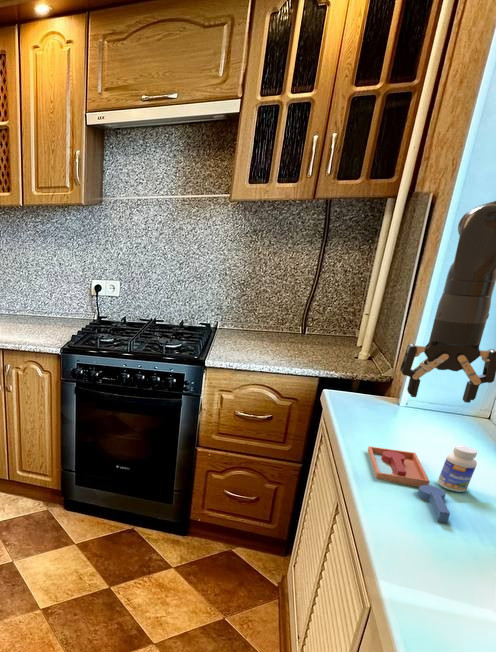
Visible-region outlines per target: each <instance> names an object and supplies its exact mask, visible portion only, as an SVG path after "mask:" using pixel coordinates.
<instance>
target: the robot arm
mask: <svg viewBox="0 0 496 652" xmlns="http://www.w3.org/2000/svg"><path fill="white" fill-rule="evenodd" d="M457 232H458V235H459V237H458V242H457V246H456V252H455V256H454V259H453V262H452V263H451V265H450V266H449V270H448V272H447V275H446V279H445V283H444V287H443V292H442V294H441V297H440V299H439V302H438V303H437V304H438V305H437V308H436V312H435V315H434V320H433V323H432V328H431V333H430V335H429V340H428V343H427V344H426V345H425V346H423V345H415V344H414V343H409V344H407V346H406V349H405V352H404V356H403V359H402V362H401V366H400V369H399V370H400V372H401V374H402V375H403V376H407V377H409V380H408V384H407V389H406V390H407V393H408V395H410V397H411V398H417V396H418V392H419V388H420V383H421V379H420V378H421V377H423V376H424V375H426V374H427V373H430V372H432V371H433V370H434V369H436V370H438V371H447V370H449V371H452V372H460V371H463V372H464V373H465V375H466V377H467V378H468V380H469V381H466V385H465V389H464V391H463V396H462V401H463V402H464V403H467V404H468V403H471V401H475V399H476V398H477V393H478V391H479V388H480V385H482V384H487V383H488V384H492V383H493V382H494V381H495V379H496V349H494V348H490V349H488V350H483V349H482V350H480V345H481V342H482V339H483V335H484V331H485V328H486V324H487V321H488V319H489V316H490V310H491V305H492V296H493V293H494V289H495V285H496V200H494V201H489V202H487V203H484V204H480V205H478V206H474V207H472V208H471V209H469V210H468V211H467V212H465V214H463V216H462V217H461V219H460V220H459V222H458V225H457ZM422 353H424V355H425V356H426V358H425V359H424V360H423V361H422V362H420V363H419V364H418V365H417V366H416V367H414V368H413V369H412V367H413V364H414V362H415V359H416V358H417V357H420V355H421V354H422ZM480 357H481V360H482V361H483V362H484V364H483V369H482V374H479V375H478V374H477V372H476V371H475V369H474V368H473V366H472V363H474V362H475V361H476V360H477V359H479V358H480Z"/></svg>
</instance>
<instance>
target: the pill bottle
mask: <svg viewBox="0 0 496 652" xmlns="http://www.w3.org/2000/svg"><path fill="white" fill-rule="evenodd" d="M477 454H478V451H477V450H476V449H474V448H472V447H470V446H466V445H455V446H454V448H453V451H452V452H451V453H449V454H448V455H447V456H446V459H445V460H444V463H443V466H442V468H441V471H440V474H439V477H438V479H437V483H438V484H439V486H440V487H442V488H445V489H446V490H450V491H452V492H459V493H463V492H466V491H467V489H468V488H469V484H470V482H471V480H472V477H473V475H474V472H475V470H476V467H477V464H478V462H477V460H476V459H475V458H476V457H477Z"/></svg>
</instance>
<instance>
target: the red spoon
mask: <svg viewBox="0 0 496 652" xmlns="http://www.w3.org/2000/svg"><path fill="white" fill-rule="evenodd" d="M380 459H381V461H382V462H383V463H385V464H388V465H390V467H391V470H392V472H393V473H394V475H399V476H406V470H405V468H404V466H403V464H404V460H405V456H404V455H403V454H401V453H398V452H394V451H384V452H383V453H382V454H381V457H380Z"/></svg>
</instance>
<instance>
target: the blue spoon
mask: <svg viewBox="0 0 496 652" xmlns="http://www.w3.org/2000/svg"><path fill="white" fill-rule="evenodd" d="M446 494H447V493H446V491H445V490H443V489H442V488H440V487H437V486H435V485H430V484H429V485H422V486H420V487H418V490H417V497H419V498H420V499H422V500H424V501H425V502H428V503H429V504H430V505H431V507H432V511H433V513H434V516H435V518H436V521H437V522H439V523H444V524H448V522H449V518H450V516H451V513H450V511H449V509H448V507H447V504H446V502H445V499H446Z"/></svg>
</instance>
